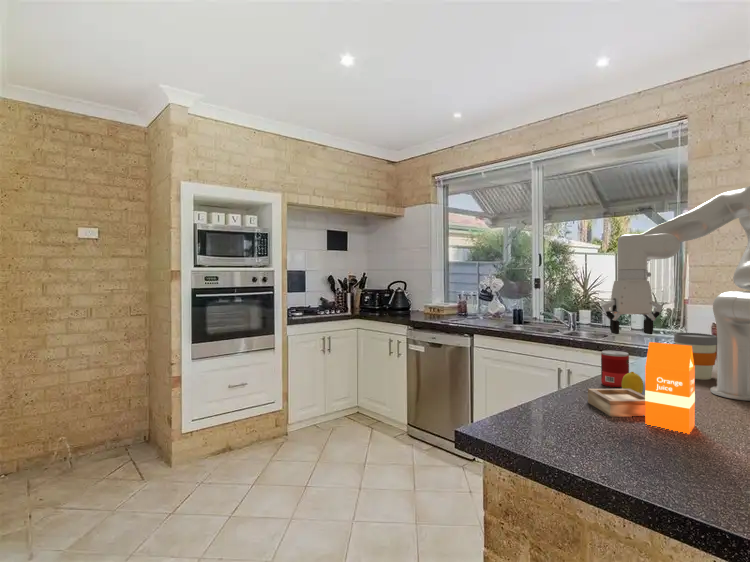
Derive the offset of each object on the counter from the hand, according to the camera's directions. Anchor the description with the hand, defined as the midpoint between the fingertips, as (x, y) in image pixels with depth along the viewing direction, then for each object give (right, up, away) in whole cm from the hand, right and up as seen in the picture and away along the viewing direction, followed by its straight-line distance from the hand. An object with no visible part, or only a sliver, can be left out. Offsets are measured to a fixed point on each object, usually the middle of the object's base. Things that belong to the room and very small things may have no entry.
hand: (631, 333), depth 123 cm
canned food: (+4, -19, +15) cm, 25 cm away
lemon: (0, -20, 0) cm, 20 cm away
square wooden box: (-9, -20, -10) cm, 23 cm away
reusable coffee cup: (+39, -19, +26) cm, 51 cm away
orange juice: (-4, -20, -22) cm, 30 cm away
